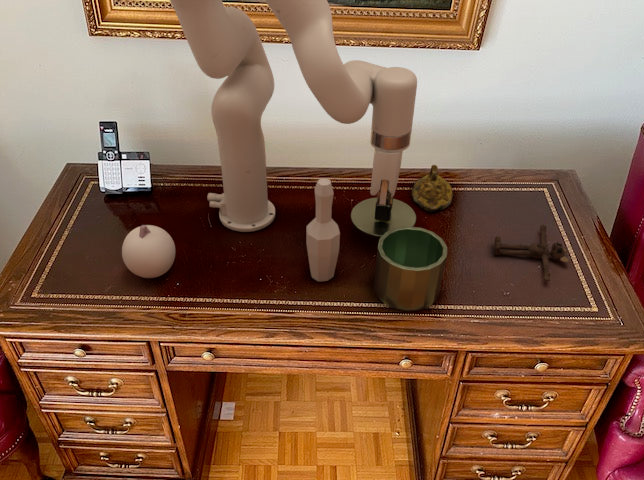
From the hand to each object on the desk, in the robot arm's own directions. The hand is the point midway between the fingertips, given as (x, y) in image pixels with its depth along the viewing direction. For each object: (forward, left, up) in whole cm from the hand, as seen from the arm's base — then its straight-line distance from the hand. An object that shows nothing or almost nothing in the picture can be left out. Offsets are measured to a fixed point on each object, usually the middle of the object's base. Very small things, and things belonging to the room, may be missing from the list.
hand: (383, 213), depth 132 cm
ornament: (-44, -21, -6) cm, 49 cm away
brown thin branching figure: (+31, -1, -6) cm, 31 cm away
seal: (+10, +17, -6) cm, 20 cm away
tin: (+7, -16, -6) cm, 18 cm away
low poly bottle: (-10, -15, -6) cm, 19 cm away
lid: (0, 0, -1) cm, 1 cm away
